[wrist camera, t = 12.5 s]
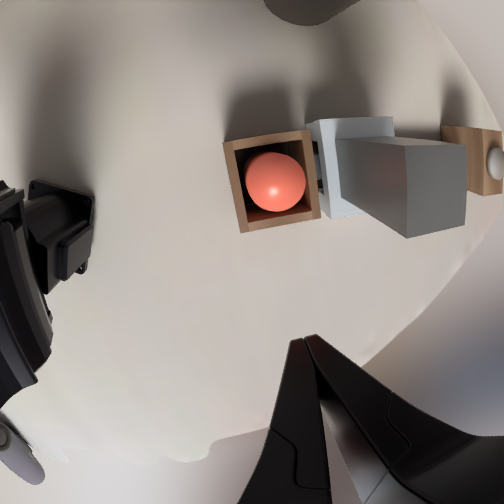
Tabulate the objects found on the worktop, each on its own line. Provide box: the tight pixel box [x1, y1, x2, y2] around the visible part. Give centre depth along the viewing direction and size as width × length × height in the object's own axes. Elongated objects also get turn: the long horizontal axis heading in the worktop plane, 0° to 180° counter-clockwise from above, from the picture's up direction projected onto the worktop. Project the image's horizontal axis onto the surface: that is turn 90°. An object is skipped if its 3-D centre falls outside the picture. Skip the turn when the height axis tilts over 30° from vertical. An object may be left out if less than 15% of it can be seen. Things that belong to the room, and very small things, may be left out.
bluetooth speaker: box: [0, 422, 45, 485], centre depth 30 cm, size 23×9×10 cm, turn 166°
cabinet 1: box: [440, 125, 504, 196], centre depth 15 cm, size 3×5×6 cm, turn 10°
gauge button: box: [243, 151, 306, 212], centre depth 16 cm, size 3×3×4 cm
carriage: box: [305, 117, 467, 238], centre depth 13 cm, size 5×6×10 cm
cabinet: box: [223, 129, 321, 233], centre depth 16 cm, size 5×5×4 cm
